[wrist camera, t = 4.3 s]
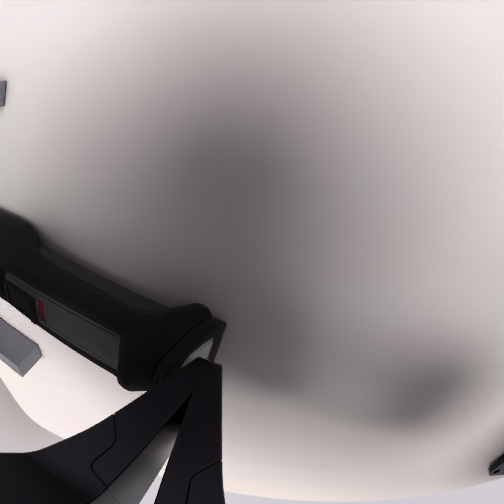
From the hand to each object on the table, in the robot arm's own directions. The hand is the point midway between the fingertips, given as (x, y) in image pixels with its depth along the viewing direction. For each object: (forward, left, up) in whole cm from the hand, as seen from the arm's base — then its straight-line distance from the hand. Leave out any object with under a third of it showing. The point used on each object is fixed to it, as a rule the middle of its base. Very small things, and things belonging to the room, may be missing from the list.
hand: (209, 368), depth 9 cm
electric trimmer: (+8, 0, -2) cm, 8 cm away
